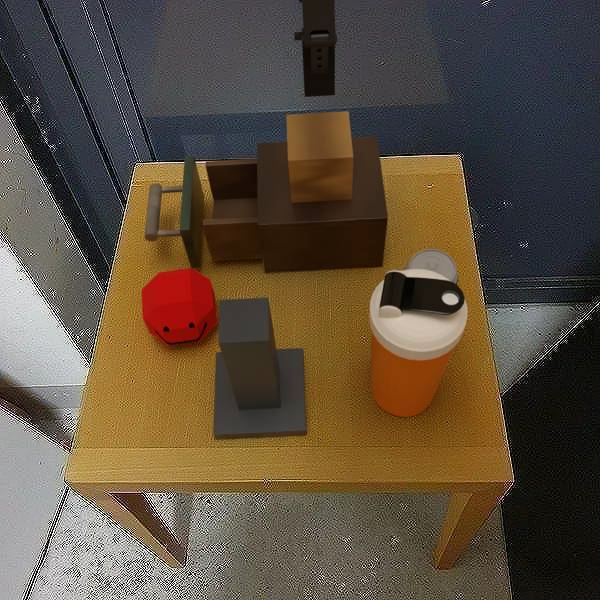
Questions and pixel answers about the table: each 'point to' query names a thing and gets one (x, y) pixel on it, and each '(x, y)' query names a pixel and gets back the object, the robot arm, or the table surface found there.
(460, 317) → the shaker bottle
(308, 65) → the robot arm
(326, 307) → the table surface
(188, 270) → the red faceted polyhedron
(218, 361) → the stand
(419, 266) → the beverage can
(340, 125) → the oak block
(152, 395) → the table surface
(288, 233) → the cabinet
